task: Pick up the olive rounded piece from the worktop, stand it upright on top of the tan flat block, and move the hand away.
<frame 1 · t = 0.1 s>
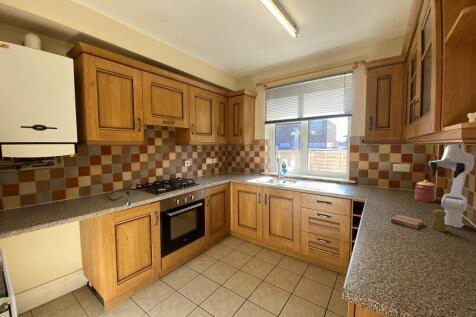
hand: (443, 175, 101), 32 cm above the counter, tool tilted 50°, fingers open, 7 cm apart
tan flat block: (406, 223, 121), on the counter
olive rounded piece: (438, 229, 112), on the counter
canister: (424, 200, 169), on the counter
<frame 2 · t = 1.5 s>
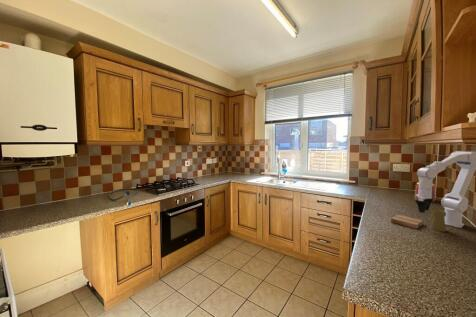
hand: (423, 211, 117), 9 cm above the counter, tool pointing down, fingers open, 7 cm apart
nothing on the counter moved.
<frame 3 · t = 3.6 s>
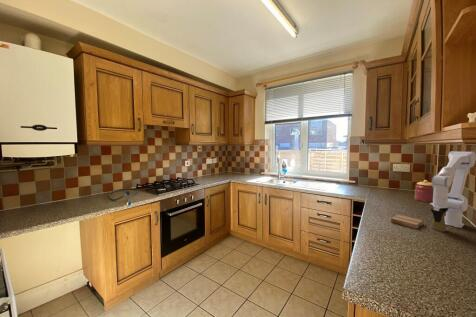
hand: (438, 220, 112), 5 cm above the counter, tool pointing down, fingers closed on olive rounded piece, 5 cm apart
olive rounded piece: (438, 229, 112), on the counter, touching gripper
everything else where it was.
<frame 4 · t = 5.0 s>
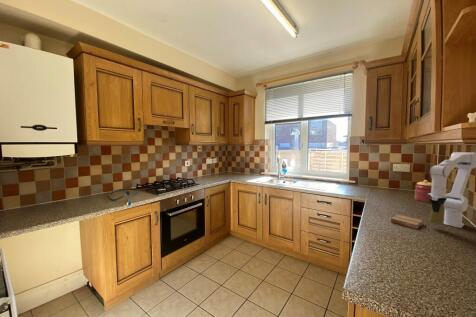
hand: (437, 210, 112), 10 cm above the counter, tool pointing down, fingers closed on olive rounded piece, 5 cm apart
olive rounded piece: (436, 222, 112), point 3 cm above the counter, touching gripper
everything else where it was.
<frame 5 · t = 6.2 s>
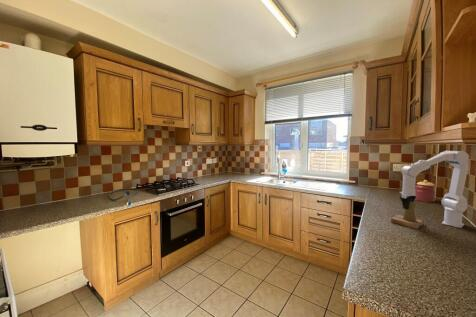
hand: (407, 208, 120), 9 cm above the counter, tool pointing down, fingers closed on olive rounded piece, 5 cm apart
olive rounded piece: (409, 220, 120), point 2 cm above the counter, touching gripper, tan flat block
everything else where it was.
when the fingers open (8 cm above the counter, at t = 6.9 s): olive rounded piece stays where it is, resting on tan flat block.
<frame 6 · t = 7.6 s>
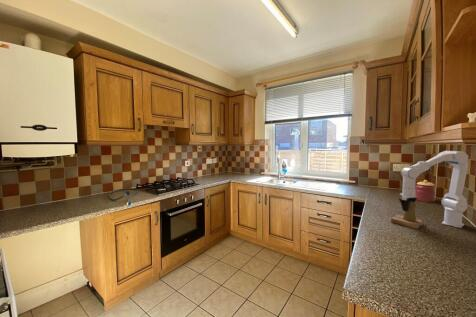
hand: (407, 209, 120), 8 cm above the counter, tool pointing down, fingers open, 7 cm apart
olive rounded piece: (409, 220, 120), point 2 cm above the counter, touching tan flat block
everything else where it was.
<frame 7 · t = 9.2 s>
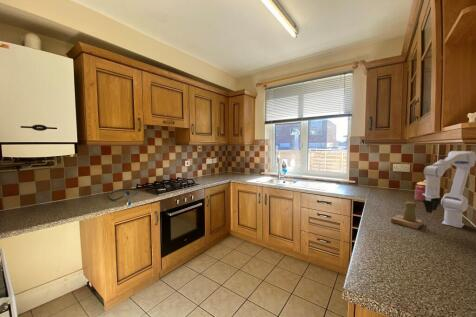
hand: (431, 211, 112), 10 cm above the counter, tool pointing down, fingers open, 7 cm apart
nothing on the counter moved.
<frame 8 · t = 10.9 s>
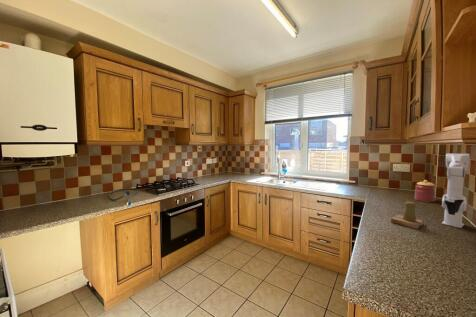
hand: (453, 213, 108), 10 cm above the counter, tool pointing down, fingers open, 7 cm apart
nothing on the counter moved.
at the end: olive rounded piece inside the target area on the tan flat block (1.2 cm from its centre), point 2.3 cm above the tan flat block's base; olive rounded piece tilted 0°; the gripper is holding nothing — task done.
